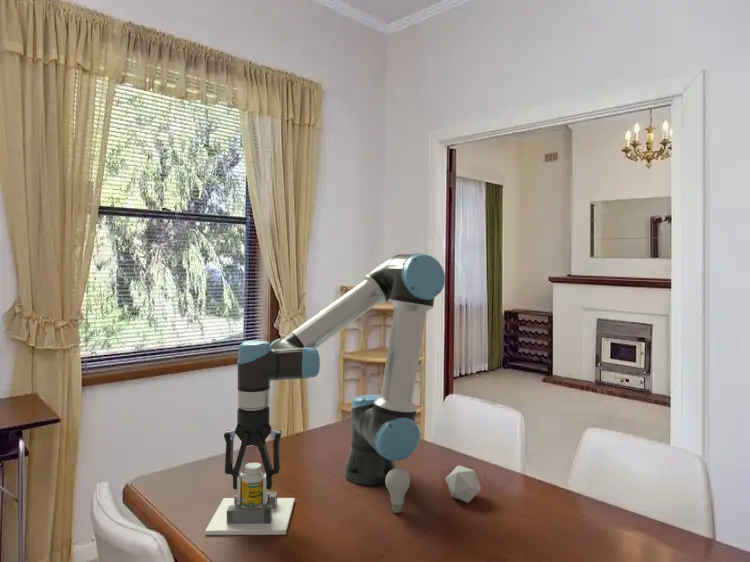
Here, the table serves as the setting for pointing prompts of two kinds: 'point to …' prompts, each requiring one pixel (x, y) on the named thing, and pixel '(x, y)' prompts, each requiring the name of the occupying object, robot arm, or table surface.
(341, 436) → the table surface
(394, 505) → the lightbulb
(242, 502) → the supplement bottle
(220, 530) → the socket
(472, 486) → the die
